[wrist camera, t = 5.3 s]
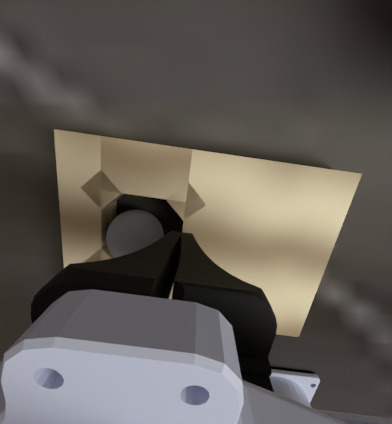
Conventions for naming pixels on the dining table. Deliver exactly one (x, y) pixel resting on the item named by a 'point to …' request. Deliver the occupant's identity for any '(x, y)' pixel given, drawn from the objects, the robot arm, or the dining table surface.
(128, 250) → the ball
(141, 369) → the robot arm
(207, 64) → the dining table surface
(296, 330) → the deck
